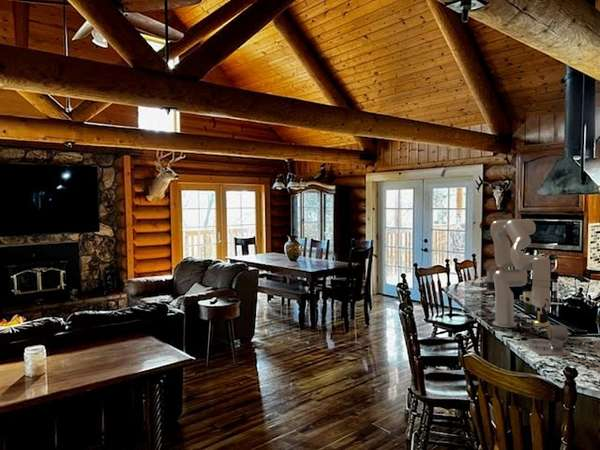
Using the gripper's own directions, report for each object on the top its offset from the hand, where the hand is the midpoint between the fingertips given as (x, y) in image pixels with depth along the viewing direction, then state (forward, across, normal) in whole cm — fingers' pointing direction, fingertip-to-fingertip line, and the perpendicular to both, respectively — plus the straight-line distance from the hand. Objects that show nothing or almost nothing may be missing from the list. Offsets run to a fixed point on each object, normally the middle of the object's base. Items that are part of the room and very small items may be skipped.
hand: (541, 320), depth 213 cm
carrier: (+13, +2, 0) cm, 13 cm away
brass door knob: (+2, 0, 0) cm, 2 cm away
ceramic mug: (+13, -10, +14) cm, 22 cm away
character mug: (+13, -66, +25) cm, 72 cm away
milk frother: (+12, -148, +31) cm, 152 cm away
